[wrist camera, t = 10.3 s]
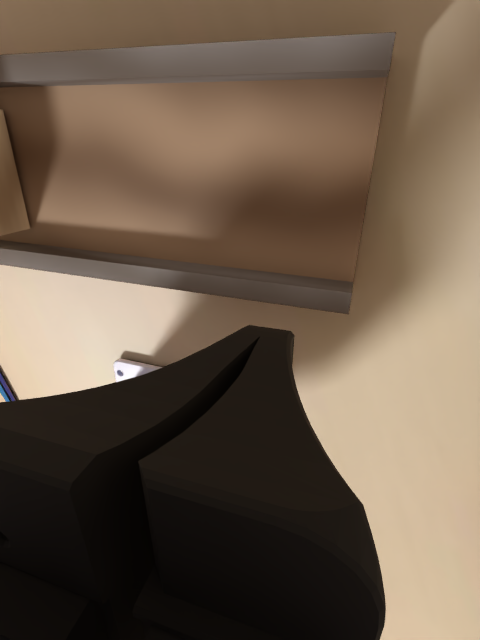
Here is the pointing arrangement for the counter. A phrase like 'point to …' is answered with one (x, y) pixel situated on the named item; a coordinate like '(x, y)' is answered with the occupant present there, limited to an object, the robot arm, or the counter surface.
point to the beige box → (10, 187)
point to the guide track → (199, 163)
